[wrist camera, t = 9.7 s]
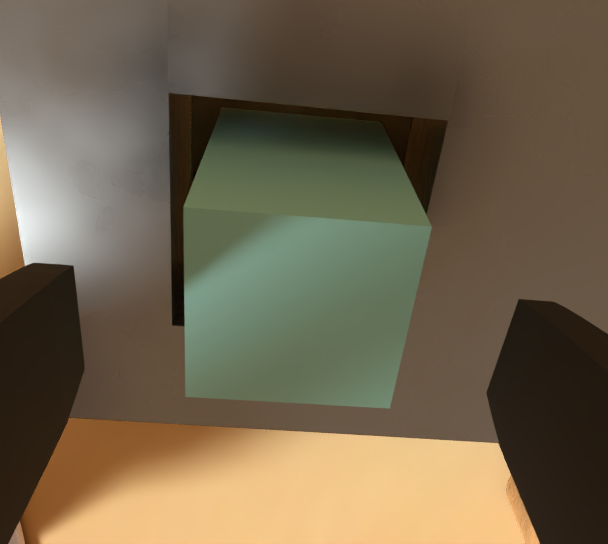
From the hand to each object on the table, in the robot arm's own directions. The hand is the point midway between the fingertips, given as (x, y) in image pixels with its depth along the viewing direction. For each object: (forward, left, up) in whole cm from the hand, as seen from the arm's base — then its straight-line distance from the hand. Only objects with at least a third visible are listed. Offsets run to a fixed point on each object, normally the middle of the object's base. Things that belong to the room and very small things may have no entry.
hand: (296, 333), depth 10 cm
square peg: (0, 0, -7) cm, 7 cm away
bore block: (+3, 0, -7) cm, 7 cm away
